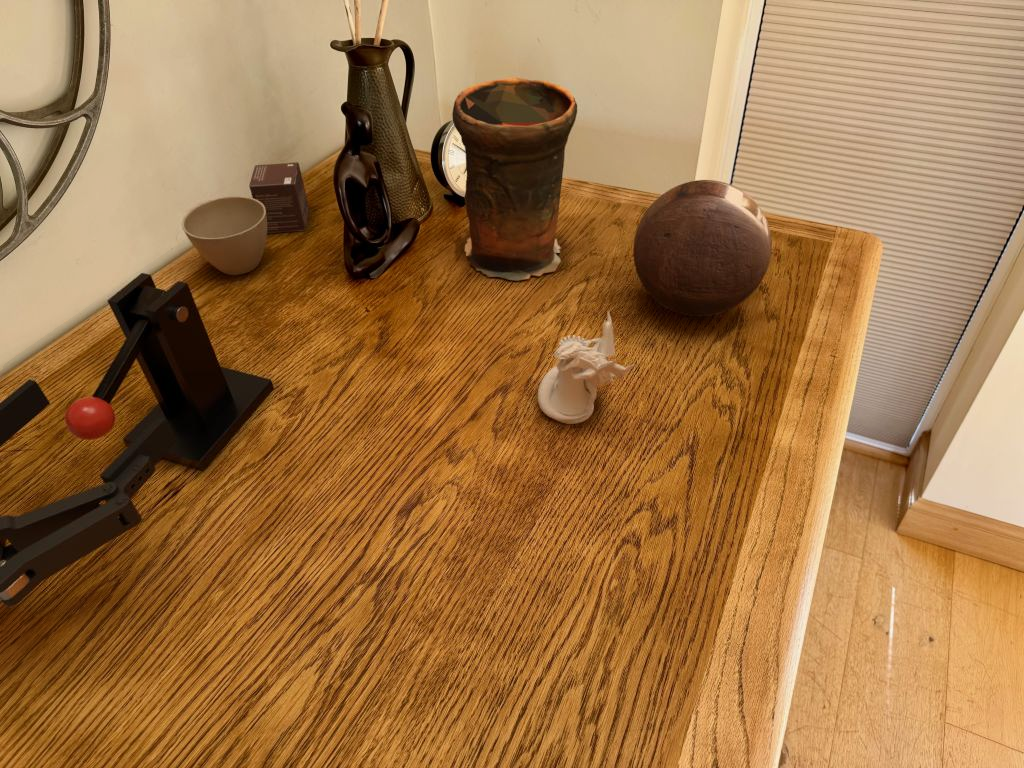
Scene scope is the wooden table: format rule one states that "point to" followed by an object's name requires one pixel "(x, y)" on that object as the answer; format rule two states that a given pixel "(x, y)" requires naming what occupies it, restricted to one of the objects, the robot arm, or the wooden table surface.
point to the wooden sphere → (702, 248)
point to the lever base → (187, 376)
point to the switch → (112, 376)
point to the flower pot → (228, 232)
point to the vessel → (514, 173)
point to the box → (281, 196)
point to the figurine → (579, 376)
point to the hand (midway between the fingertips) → (102, 409)
